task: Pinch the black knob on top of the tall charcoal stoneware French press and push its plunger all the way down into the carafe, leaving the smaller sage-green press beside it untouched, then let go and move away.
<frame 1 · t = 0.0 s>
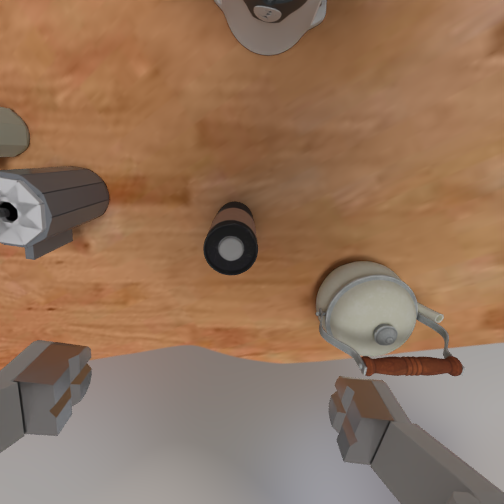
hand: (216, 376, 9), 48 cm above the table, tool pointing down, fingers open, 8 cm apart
press: (82, 194, 54), on the table
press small: (7, 132, 50), on the table
kettle: (357, 290, 63), on the table
travel mug: (235, 218, 56), on the table
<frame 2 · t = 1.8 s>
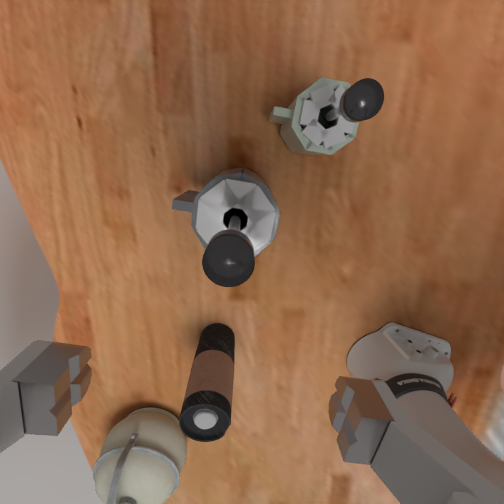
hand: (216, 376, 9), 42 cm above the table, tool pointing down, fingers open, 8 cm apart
plunger small: (344, 109, 27), point 19 cm above the table, slide at 0.0 cm
press: (239, 197, 49), on the table
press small: (304, 128, 45), on the table
kettle: (154, 432, 67), on the table
plunger: (232, 236, 25), point 25 cm above the table, slide at 0.0 cm
travel mug: (217, 336, 59), on the table
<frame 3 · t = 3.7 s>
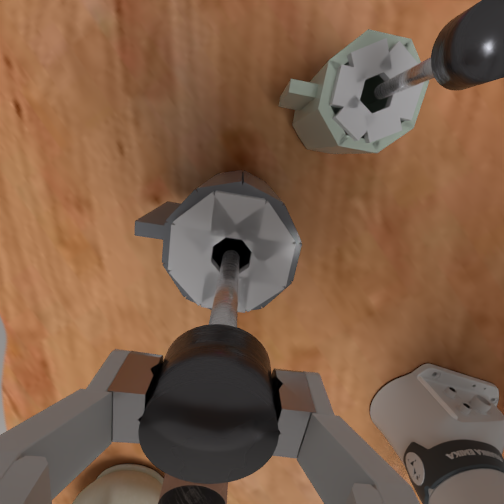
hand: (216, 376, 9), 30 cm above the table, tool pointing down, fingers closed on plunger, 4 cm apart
plunger small: (423, 72, 15), point 19 cm above the table, slide at 0.0 cm
press: (236, 209, 37), on the table
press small: (325, 117, 34), on the table
kettle: (133, 490, 56), on the table
plunger: (225, 305, 13), point 25 cm above the table, slide at 0.0 cm, touching gripper
travel mug: (210, 381, 47), on the table
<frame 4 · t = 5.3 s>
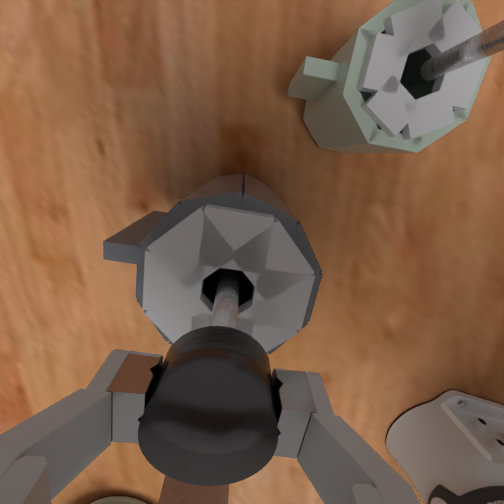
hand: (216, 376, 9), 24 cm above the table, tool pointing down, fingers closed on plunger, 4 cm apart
press: (237, 218, 32), on the table
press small: (342, 110, 28), on the table
plunger: (225, 306, 13), point 20 cm above the table, slide at 5.4 cm, touching gripper
travel mug: (207, 409, 42), on the table
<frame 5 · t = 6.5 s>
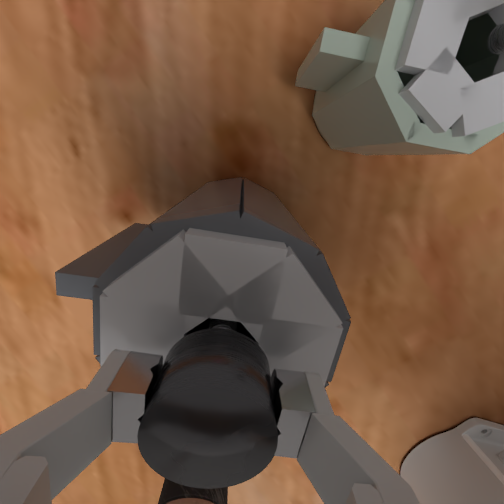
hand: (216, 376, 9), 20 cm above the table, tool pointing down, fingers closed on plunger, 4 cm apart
press: (234, 229, 28), on the table
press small: (357, 104, 24), on the table
plunger: (225, 308, 13), point 15 cm above the table, slide at 9.9 cm, touching gripper
travel mug: (202, 439, 37), on the table
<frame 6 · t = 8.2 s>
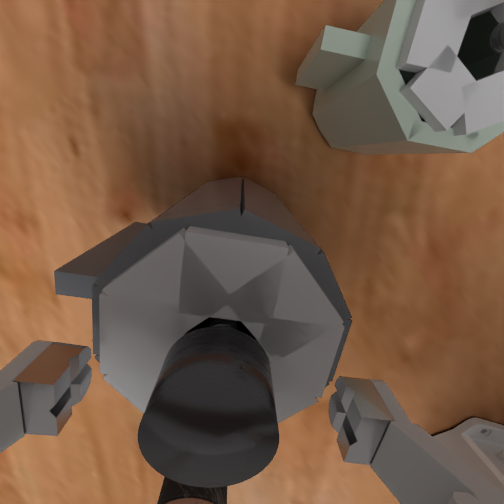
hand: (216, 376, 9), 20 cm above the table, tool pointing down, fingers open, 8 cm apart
press: (234, 229, 28), on the table
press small: (357, 103, 24), on the table
plunger: (225, 307, 13), point 15 cm above the table, slide at 9.9 cm
travel mug: (202, 439, 37), on the table
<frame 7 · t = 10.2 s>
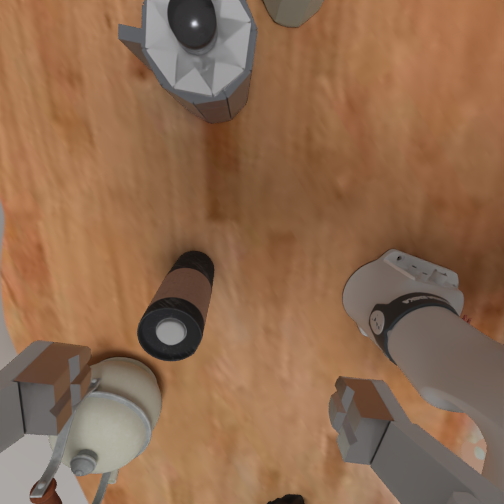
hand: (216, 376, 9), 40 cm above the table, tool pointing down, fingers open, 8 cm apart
press: (214, 86, 41), on the table
kettle: (125, 387, 59), on the table
plunger: (202, 48, 27), point 15 cm above the table, slide at 9.9 cm
travel mug: (195, 268, 51), on the table
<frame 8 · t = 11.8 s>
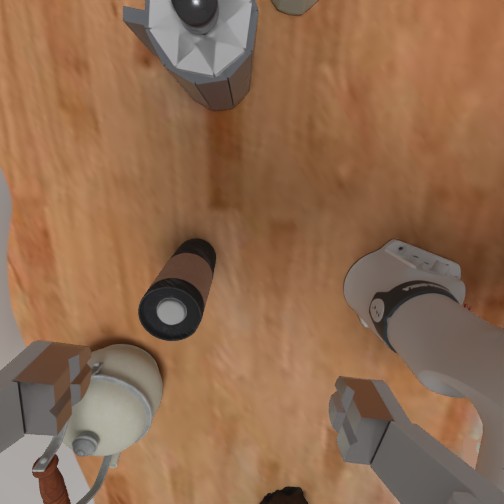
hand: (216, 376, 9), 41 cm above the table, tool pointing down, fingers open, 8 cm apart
press: (218, 73, 42), on the table
kettle: (127, 375, 60), on the table
owl: (283, 501, 76), on the table
plunger: (204, 30, 27), point 15 cm above the table, slide at 9.9 cm
travel mug: (197, 256, 51), on the table
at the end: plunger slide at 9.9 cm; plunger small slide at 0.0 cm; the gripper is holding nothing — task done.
